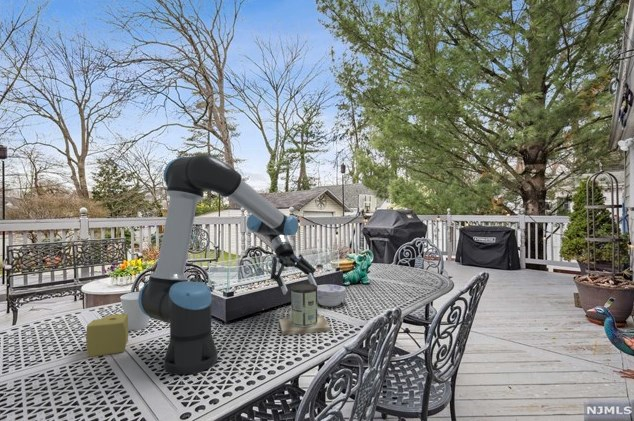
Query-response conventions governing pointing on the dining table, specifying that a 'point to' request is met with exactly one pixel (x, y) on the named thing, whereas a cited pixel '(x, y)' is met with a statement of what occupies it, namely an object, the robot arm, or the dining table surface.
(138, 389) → the dining table surface
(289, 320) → the plain beige board
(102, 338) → the cheese
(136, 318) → the cup
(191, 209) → the robot arm
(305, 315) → the coffee can
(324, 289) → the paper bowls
